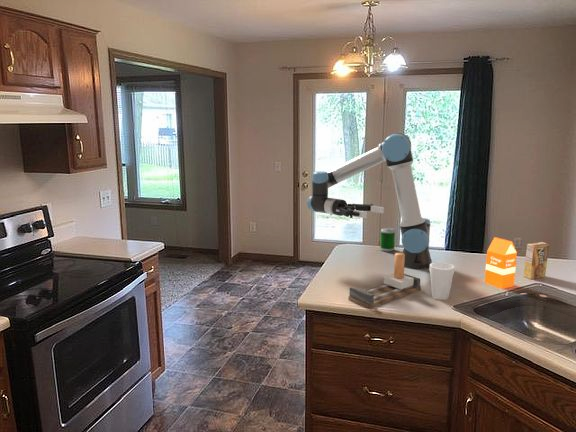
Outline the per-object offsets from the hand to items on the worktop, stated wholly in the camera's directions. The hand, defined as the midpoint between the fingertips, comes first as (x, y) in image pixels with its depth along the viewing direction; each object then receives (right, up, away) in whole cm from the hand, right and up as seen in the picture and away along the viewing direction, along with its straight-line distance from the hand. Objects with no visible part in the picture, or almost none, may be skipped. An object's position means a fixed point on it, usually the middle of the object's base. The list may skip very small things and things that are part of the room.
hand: (375, 212), depth 201 cm
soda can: (+16, -20, +50) cm, 56 cm away
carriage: (+8, -30, -9) cm, 32 cm away
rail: (+2, -33, -13) cm, 36 cm away
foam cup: (+23, -34, -16) cm, 44 cm away
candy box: (+72, -29, +6) cm, 78 cm away
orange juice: (+53, -31, -3) cm, 61 cm away
